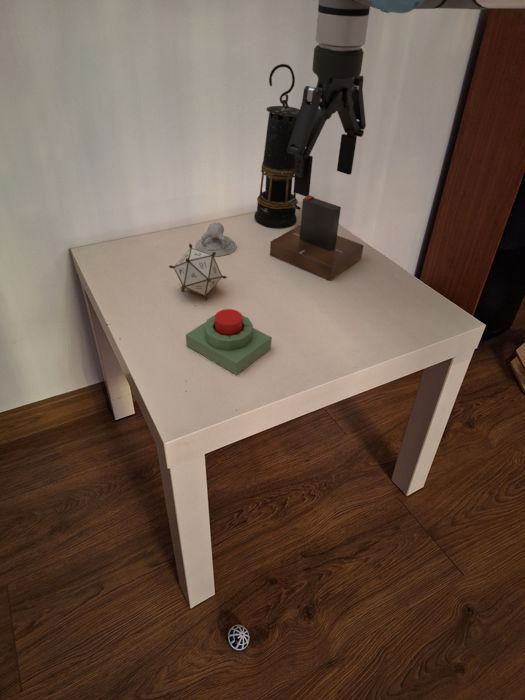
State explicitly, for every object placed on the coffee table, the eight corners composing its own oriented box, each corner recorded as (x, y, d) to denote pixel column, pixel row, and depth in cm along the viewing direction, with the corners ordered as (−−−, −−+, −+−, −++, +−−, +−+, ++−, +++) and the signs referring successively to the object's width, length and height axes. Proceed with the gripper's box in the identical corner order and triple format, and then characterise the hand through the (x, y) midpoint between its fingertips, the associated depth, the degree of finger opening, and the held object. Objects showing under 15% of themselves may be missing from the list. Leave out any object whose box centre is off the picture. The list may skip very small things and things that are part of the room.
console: (361, 258, 103) (364, 244, 101) (330, 281, 96) (332, 266, 94) (302, 235, 109) (304, 221, 107) (269, 255, 102) (270, 240, 100)
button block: (271, 348, 80) (272, 327, 78) (236, 375, 75) (236, 353, 73) (222, 322, 85) (221, 301, 82) (186, 346, 80) (184, 324, 77)
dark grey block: (335, 247, 100) (341, 205, 94) (329, 250, 98) (335, 209, 93) (305, 235, 103) (309, 194, 98) (299, 238, 102) (302, 197, 97)
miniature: (239, 239, 107) (239, 217, 104) (232, 258, 101) (232, 235, 98) (200, 235, 108) (199, 213, 105) (191, 254, 102) (189, 230, 99)
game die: (197, 316, 92) (172, 293, 83) (178, 279, 96) (152, 254, 86) (240, 288, 92) (221, 263, 82) (220, 253, 95) (198, 224, 86)
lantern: (301, 226, 113) (316, 70, 94) (259, 229, 111) (266, 71, 92) (290, 209, 119) (301, 59, 101) (250, 211, 118) (254, 60, 99)
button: (247, 327, 78) (248, 316, 77) (229, 340, 76) (229, 328, 74) (227, 316, 80) (227, 305, 79) (209, 328, 77) (209, 317, 76)
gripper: (360, 33, 89) (343, 159, 103) (268, 52, 74) (262, 197, 87) (400, 40, 86) (377, 169, 99) (312, 61, 71) (299, 210, 84)
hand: (323, 182), depth 93 cm, fingers open, 13 cm apart
